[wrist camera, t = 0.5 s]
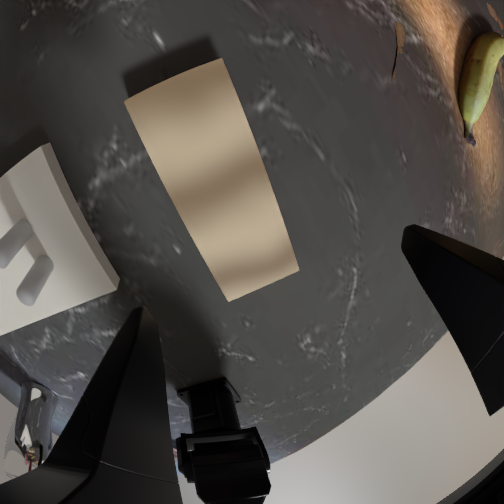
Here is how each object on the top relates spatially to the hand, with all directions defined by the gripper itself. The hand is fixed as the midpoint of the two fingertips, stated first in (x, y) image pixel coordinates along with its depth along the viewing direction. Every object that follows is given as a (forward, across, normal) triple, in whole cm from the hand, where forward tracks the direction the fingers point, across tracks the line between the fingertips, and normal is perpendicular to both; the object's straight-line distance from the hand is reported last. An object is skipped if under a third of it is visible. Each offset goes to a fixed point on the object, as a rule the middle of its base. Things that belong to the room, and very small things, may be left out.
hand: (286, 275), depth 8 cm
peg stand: (+11, +21, +1) cm, 24 cm away
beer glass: (+9, +34, +19) cm, 40 cm away
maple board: (+12, +1, +2) cm, 12 cm away
